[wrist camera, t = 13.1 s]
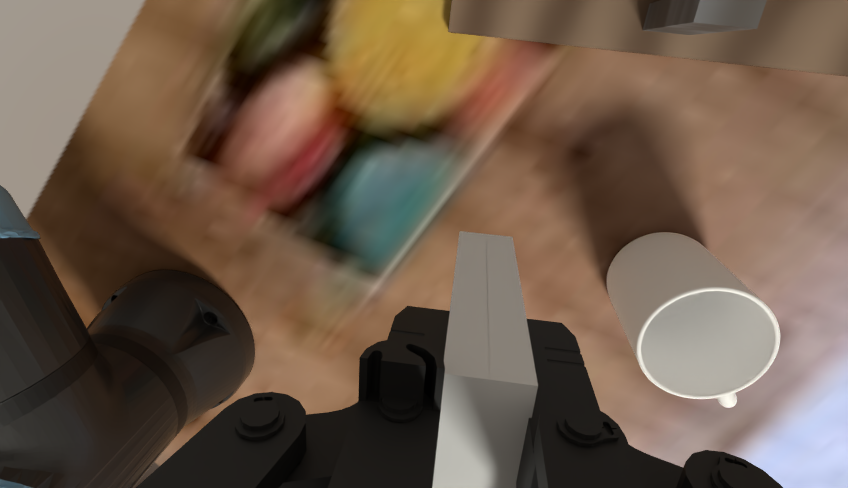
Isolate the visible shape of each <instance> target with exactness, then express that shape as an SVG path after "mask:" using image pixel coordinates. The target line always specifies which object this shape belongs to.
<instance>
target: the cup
mask: <svg viewBox="0 0 848 488" xmlns="http://www.w3.org/2000/svg"><path fill="white" fill-rule="evenodd" d="M607 291H608V295H609V298H610V301H611V303H612V305H613V307H614V310H615V312H616V314H617V316H618V318H619V321H620V323H621V325H622V327H623V329H624V332H625V334H626V336H627V338H628V341H629V343H630V345H631V347H632V349H633V352H634V354H635V356H636V358H637V360H638V363H639V365H640V367H641V369H642V371H643V372H644V374H645V375H646V376H647V378H648V379H649V380H650V381H651V382H652V383H654V384H655V385H656V386H658V387H659V388H661V389H663V390H664V391H666V392H669V393H671V394H674V395H677V396H681V397H685V398H692V399H710V398H716V399H717V400H718V402H719V403H720V404H721V405H722V406H724V407H727V408H730V407H733V406H735V404H736V403H737V397H736V394H735V392H737V391H740V390H742V389H744V388H746V387H747V386H749V385H751V384H752V383H754V382H755V381H756V380H758V379H759V378H760V377H761V376H762V375H763V374H764V373H765V372H766V371H767V370H768V368H769V367H770V366H771V364H772V363H773V361H774V359H775V357H776V355H777V352H778V349H779V345H780V329H779V325H778V322H777V319H776V317H775V315H774V314H773V312H772V311H771V309H770V308H769V307H768V306H767V305H766V304H765V303H764V302H763V301H762V300H761V299H760V298H759V297H758V296H757V295H755V294H754V293H753V292H752V291H751V290H750V289H749V288H748V287H747V286H746V285H745V284H744V283H743V282H742V281H741V280H739V279H738V278H737V277H736V276H735V275H734V274H733V273H732V272H731V271H730V270H729V269H728V268H727V267H726V266H725V265H724V264H722V263H721V262H720V261H719V260H718V259H717V258H716V257H715V256H714V255H713V254H712V253H711V252H710V251H709V250H708V249H706V248H705V247H704V246H703V245H702V244H700V243H699V242H697V241H696V240H694V239H692V238H690V237H688V236H685V235H682V234H678V233H672V232H659V233H652V234H648V235H644V236H642V237H639V238H637V239H635V240H633V241H632V242H630V243H628V244H627V245H626V246H625V247H623V248H622V249H621V250H620V251H619V252H618V254H617V255H616V256H615V258H614V259H613V261H612V263H611V265H610V267H609V270H608V273H607Z"/></svg>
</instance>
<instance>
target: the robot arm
mask: <svg viewBox="0 0 848 488" xmlns="http://www.w3.org/2000/svg"><path fill="white" fill-rule="evenodd" d="M38 239H40V236H39V234H38V232H36V231H34V230H32V228H31V226H30V225H29V223H28V222H27V220H26V219H25V217H24V216H23V214H22V213H21V211H20V210H19V208H18V206H17V205H16V203H15V201H14V200H13V198H12V197H11V195H10V194H9V193H8V191H7V190H6V189H4V188H3V187H2V186H0V488H133V487H134V486H135V485H136V483H137V482H138V481H139V480H140V479H141V478H142V476H143V475H144V474H145V473H146V471H147V470H148V469H149V468H150V467H151V465H152V464H153V463H154V462H155V460H156V459H157V458H158V457H159V456H160V455H161V453H162V452H163V451H164V450H165V449H166V447H167V446H168V445H169V444H170V442H171V441H172V440H173V439H174V438H175V437H176V435H177V434H178V433H179V432H180V431H181V429H182V428H183V427H184V426H186V425H187V424H189V423H190V422H192V421H193V420H195V419H196V418H198V417H199V416H200V415H202V414H203V413H205V412H206V411H208V410H209V409H212V408H214V407H216V406H218V405H220V404H222V403H224V402H225V401H227V400H228V399H229V398H230V397H231V396H232V395H233V394H234V393H235V392H236V391H237V390H238V389H239V387H240V386H241V385H242V383H243V382H244V381H245V380H246V378H247V377H248V375H249V374H250V372H251V369H252V367H253V363H254V357H255V347H254V340H253V336H252V333H251V330H250V327H249V325H248V323H247V321H246V319H245V317H244V316H243V314H242V313H241V311H240V310H239V309H238V307H237V306H236V305H235V304H234V303H233V301H232V300H231V299H230V298H229V297H227V296H226V295H225V294H224V293H223V292H222V291H220V290H219V289H218V288H216V287H215V286H213V285H212V284H210V283H209V282H207V281H205V280H203V279H201V278H199V277H196V276H194V275H191V274H188V273H184V272H180V271H173V270H157V271H151V272H147V273H144V274H142V275H140V276H138V277H136V278H134V279H133V280H131V281H130V282H128V283H126V284H125V285H123V286H122V287H120V288H119V289H118V290H116V291H115V292H114V293H113V294H112V295H111V296H110V297H109V299H108V300H107V302H106V303H105V304H104V306H103V308H102V311H101V312H100V313H99V314H98V315H97V316H96V317H95V318H94V320H93V321H92V322H91V323H90V325H89V326H88V328H87V329H86V327H85V325H84V323H83V321H82V319H81V318H80V316H79V314H78V312H77V310H76V309H75V307H74V305H73V303H72V301H71V300H70V298H69V296H68V294H67V292H66V290H65V289H64V287H63V285H62V283H61V281H60V280H59V278H58V276H57V274H56V272H55V270H54V268H53V266H52V265H51V263H50V261H49V259H48V257H47V255H46V253H45V251H44V249H43V247H42V245H41V243H40V242H39V240H38ZM136 488H783V487H782V486H781V485H780V484H779V483H777V482H776V481H775V480H774V479H773V478H772V477H770V476H769V475H768V474H767V473H766V472H764V471H763V470H762V469H760V468H758V467H756V466H755V465H753V464H751V463H749V462H748V461H746V460H744V459H742V458H739V457H736V456H733V455H730V454H727V453H725V452H718V451H709V450H705V451H701V452H697V453H693V454H692V455H691V456H690V457H689V459H688V460H687V461H686V463H685V465H684V468H682V467H680V466H677V465H674V464H672V463H669V462H666V461H664V460H661V459H658V458H656V457H653V456H650V455H648V454H646V453H644V452H641V451H639V450H637V449H635V448H634V447H632V446H630V445H629V444H628V442H627V439H626V437H625V435H624V433H623V432H622V430H621V429H620V427H619V425H618V424H617V423H616V422H615V421H613V420H612V419H611V418H610V417H609V416H608V415H606V414H605V413H603V412H601V411H600V409H599V406H598V403H597V400H596V397H595V394H594V391H593V388H592V385H591V382H590V379H589V376H588V373H587V370H586V367H584V361H583V358H582V355H581V354H580V349H579V346H578V343H577V340H576V337H575V336H574V335H573V334H572V333H571V332H570V331H569V330H568V329H567V328H566V327H565V326H564V325H563V324H562V323H558V322H549V321H541V320H533V319H526V313H525V307H524V301H523V295H522V290H521V284H520V278H519V272H518V266H517V261H516V255H515V249H514V243H513V237H508V236H499V235H490V234H480V233H471V232H462V231H460V233H459V241H458V249H457V257H456V265H455V273H454V281H453V289H452V297H451V306H450V311H445V310H437V309H428V308H420V307H412V306H407V307H406V308H405V309H403V310H402V311H401V312H400V313H399V314H397V315H396V316H395V318H394V321H393V324H392V327H391V331H390V333H389V336H388V339H387V340H385V341H381V342H378V343H376V344H374V345H372V346H370V347H368V348H367V349H366V350H365V351H364V353H363V354H362V355H361V357H360V367H359V401H358V402H357V403H356V404H354V405H352V406H350V407H347V408H345V409H342V410H338V411H333V412H328V413H319V414H309V415H306V411H305V409H304V408H303V406H302V405H301V403H300V402H299V401H298V400H296V399H294V398H292V397H291V396H289V395H286V394H280V393H275V392H268V393H257V394H253V395H250V396H247V397H244V398H241V399H239V400H237V401H235V402H234V403H232V404H231V405H229V406H228V407H226V408H225V409H224V410H223V411H221V412H220V413H219V414H218V415H217V416H216V417H215V418H214V419H212V420H211V421H210V422H209V423H208V424H207V425H206V426H205V427H204V428H202V429H201V430H200V431H199V432H198V433H197V434H196V435H195V436H193V437H192V438H191V439H190V440H189V441H188V442H187V443H186V444H184V445H183V446H182V447H181V448H180V449H179V450H178V451H177V452H175V453H174V454H173V455H172V456H171V457H170V458H169V459H168V460H167V461H165V462H164V463H163V464H162V465H161V466H160V467H159V468H158V469H156V470H155V471H154V472H153V473H152V474H151V475H150V476H149V477H147V478H146V479H145V480H144V481H143V482H142V483H141V484H140V485H138V486H137V487H136Z"/></svg>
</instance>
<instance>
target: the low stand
mask: <svg viewBox="0 0 848 488" xmlns="http://www.w3.org/2000/svg"><path fill="white" fill-rule="evenodd" d="M448 32H451V33H460V34H469V35H478V36H487V37H496V38H505V39H514V40H523V41H533V42H542V43H551V44H560V45H569V46H578V47H587V48H596V49H605V50H614V51H623V52H632V53H641V54H650V55H659V56H668V57H677V58H686V59H695V60H704V61H713V62H722V63H731V64H740V65H749V66H758V67H767V68H776V69H785V70H794V71H804V72H813V73H822V74H831V75H840V76H848V0H452V4H451V13H450V22H449V31H448Z"/></svg>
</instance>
